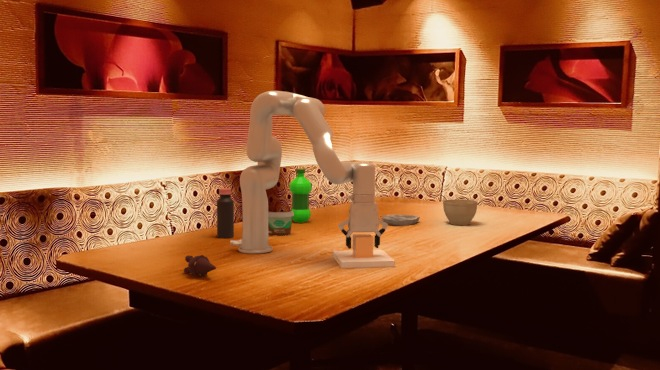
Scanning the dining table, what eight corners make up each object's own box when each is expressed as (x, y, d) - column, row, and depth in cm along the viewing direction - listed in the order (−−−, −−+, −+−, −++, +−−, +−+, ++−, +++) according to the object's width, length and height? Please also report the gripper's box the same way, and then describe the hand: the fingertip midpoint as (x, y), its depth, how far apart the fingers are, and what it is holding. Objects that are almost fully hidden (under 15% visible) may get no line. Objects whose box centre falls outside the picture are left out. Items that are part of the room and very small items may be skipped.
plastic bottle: (311, 223, 297) (311, 170, 295) (288, 223, 298) (288, 170, 295) (312, 220, 307) (312, 168, 305) (290, 220, 308) (290, 168, 305)
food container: (267, 237, 265) (267, 213, 264) (265, 234, 271) (265, 210, 269) (296, 235, 268) (296, 212, 267) (293, 233, 274) (293, 210, 273)
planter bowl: (474, 221, 309) (475, 199, 308) (479, 227, 293) (479, 203, 292) (441, 220, 310) (441, 198, 309) (443, 226, 294) (444, 203, 293)
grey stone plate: (395, 219, 316) (395, 213, 316) (424, 223, 305) (425, 216, 305) (371, 224, 301) (372, 217, 301) (402, 228, 290) (402, 221, 290)
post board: (341, 268, 212) (342, 248, 211) (332, 256, 229) (333, 238, 229) (394, 266, 215) (394, 247, 214) (381, 255, 232) (382, 237, 232)
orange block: (355, 257, 218) (356, 237, 218) (352, 254, 224) (352, 234, 224) (373, 257, 219) (373, 237, 219) (369, 253, 225) (369, 234, 224)
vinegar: (230, 238, 260) (230, 189, 257) (214, 238, 261) (214, 189, 259) (236, 235, 266) (235, 188, 264) (220, 235, 268) (220, 187, 265)
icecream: (226, 257, 197) (196, 254, 207) (207, 255, 192) (177, 252, 201) (223, 280, 196) (193, 276, 206) (204, 278, 191) (174, 274, 200)
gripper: (340, 200, 215) (340, 250, 216) (390, 199, 217) (389, 249, 219) (337, 197, 222) (336, 246, 224) (385, 197, 225) (384, 245, 227)
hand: (362, 247), depth 222 cm, fingers open, 9 cm apart
